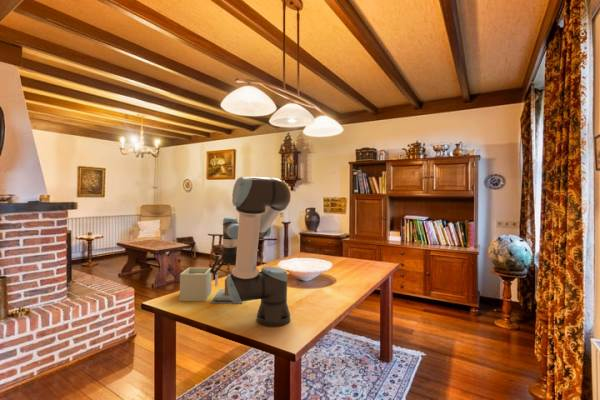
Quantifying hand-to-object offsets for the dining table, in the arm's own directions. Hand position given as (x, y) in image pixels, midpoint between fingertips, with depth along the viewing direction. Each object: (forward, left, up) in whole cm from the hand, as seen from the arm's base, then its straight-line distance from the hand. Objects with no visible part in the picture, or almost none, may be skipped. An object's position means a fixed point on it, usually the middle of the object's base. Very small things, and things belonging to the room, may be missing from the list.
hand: (229, 285), depth 158 cm
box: (+2, +18, -7) cm, 19 cm away
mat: (0, 0, -7) cm, 7 cm away
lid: (0, 0, -5) cm, 5 cm away
